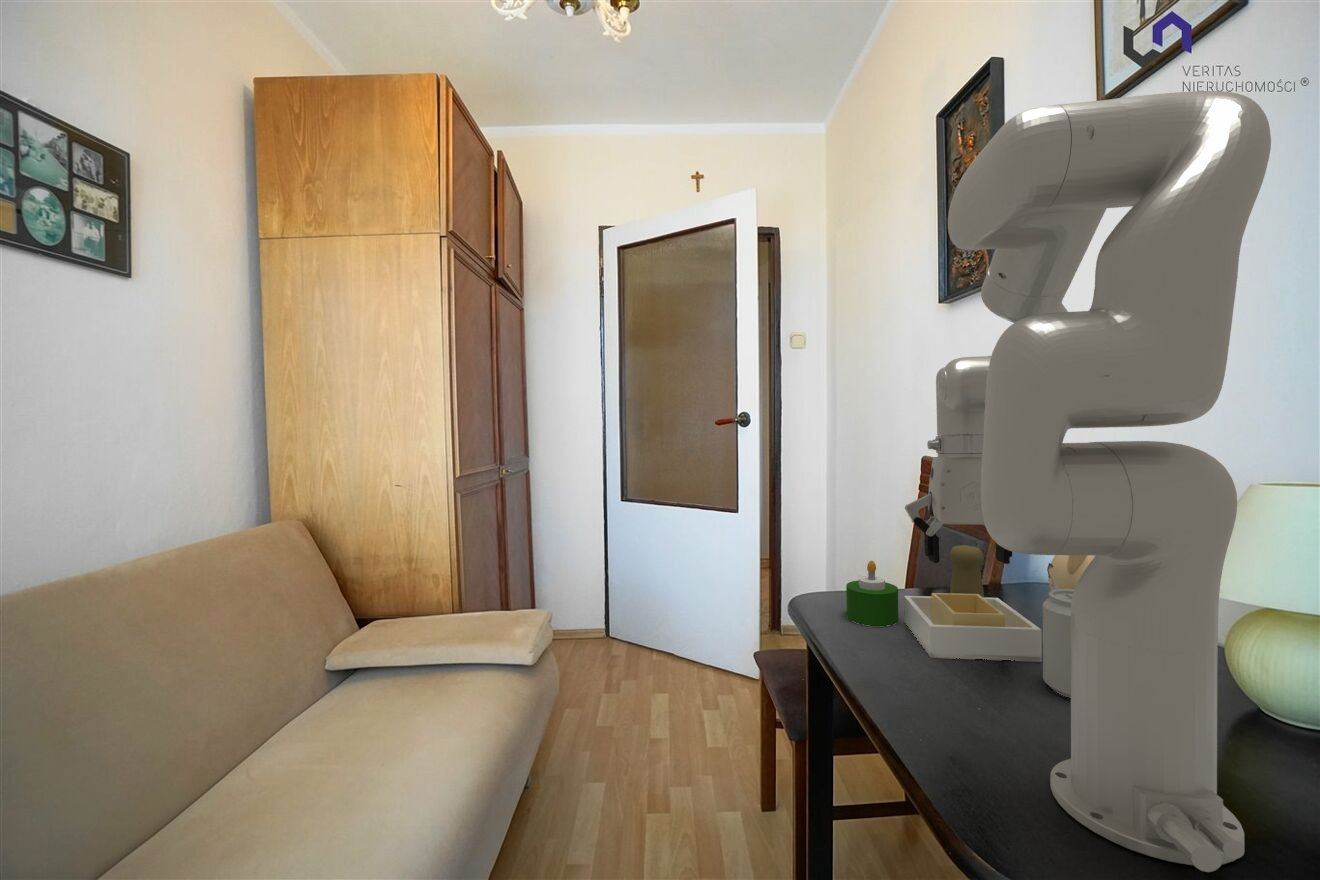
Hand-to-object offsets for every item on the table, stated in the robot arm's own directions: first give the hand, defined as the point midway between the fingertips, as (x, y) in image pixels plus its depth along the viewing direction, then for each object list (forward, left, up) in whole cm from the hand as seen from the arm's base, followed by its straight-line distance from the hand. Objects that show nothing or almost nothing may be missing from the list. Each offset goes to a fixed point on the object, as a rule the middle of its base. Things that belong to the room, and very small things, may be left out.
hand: (967, 561), depth 87 cm
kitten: (+8, -20, -13) cm, 25 cm away
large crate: (+1, 0, -12) cm, 12 cm away
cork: (+17, -5, -13) cm, 22 cm away
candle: (+10, +12, -13) cm, 20 cm away
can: (-15, -7, -13) cm, 21 cm away
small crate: (+1, 0, -12) cm, 12 cm away
